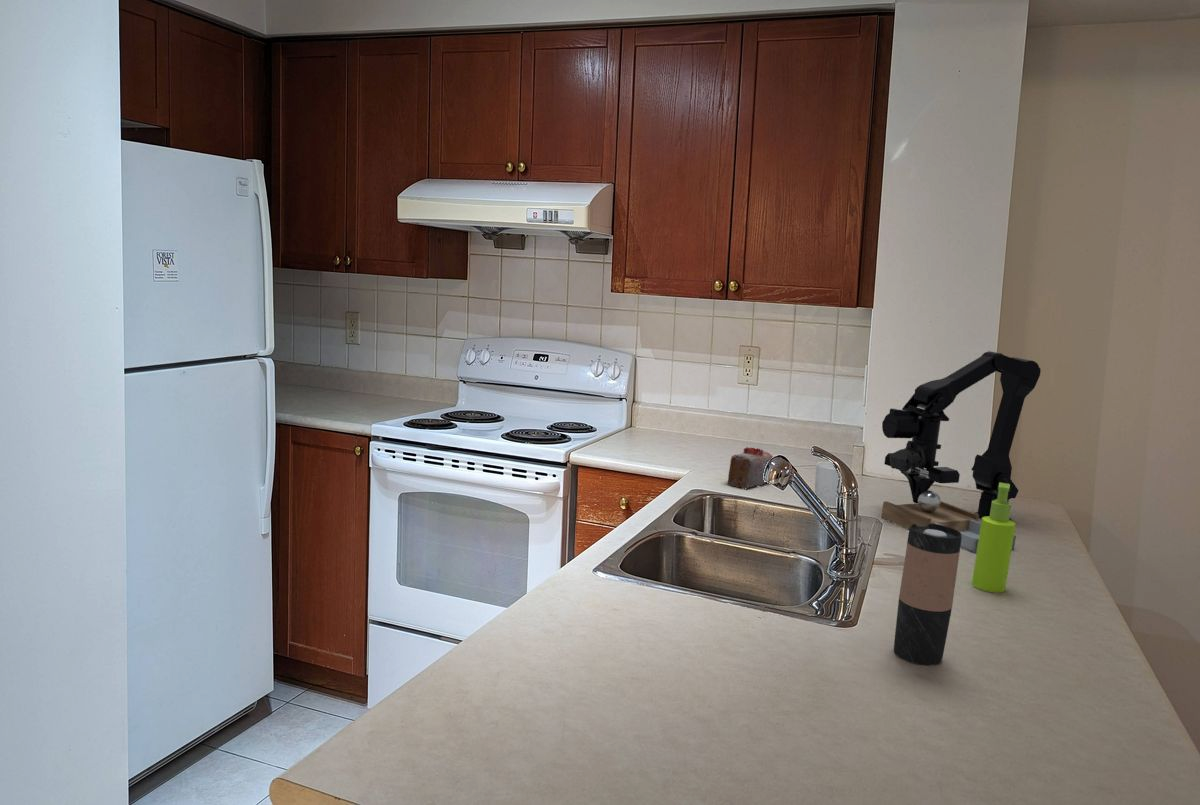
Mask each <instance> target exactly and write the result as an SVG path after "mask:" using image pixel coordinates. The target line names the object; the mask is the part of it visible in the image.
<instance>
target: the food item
mask: <svg viewBox="0 0 1200 805" xmlns="http://www.w3.org/2000/svg"><path fill="white" fill-rule="evenodd" d="M772 457H773V455H772V454H771V453H770V452H768V451H766V450H764V449H761V448H755V447H748V446H747V447H746V448H743V452H742V453H738V454H734V455H732V456H731V458H730V464H729V470H728V475H727V476H728V477H727V478H728V479H727V485H729V486H731V485H732V486H731V487H734V486H736V487H735V488H738V487H741V488H740V489H742V488H748V489H750V488H749V487H751V488H753V487H756V486H760V485H762V486H763V485H764V484H766V483H767V482H764V480H763V473H764V469H765V466H766V464H767V462H768V461H769V460H770V459H771V458H772Z"/></svg>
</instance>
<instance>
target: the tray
mask: <svg viewBox="0 0 1200 805" xmlns="http://www.w3.org/2000/svg"><path fill="white" fill-rule="evenodd" d="M934 524H939V523H934ZM939 525H941V524H939ZM943 526H944V525H943ZM980 527H981V522H980V521H978V522H977V521H974V520H970V523H969V530H968V531H961V532H960V533H961V534H962V539H961V546H960V549H963V550H965V551H969V552H971V553H973V554H976V553H977V547H978V540H979V534H980ZM1016 537H1017V536H1016V535H1015V534H1014V537H1013V544H1012V550H1015V544H1016Z"/></svg>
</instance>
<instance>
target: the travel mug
mask: <svg viewBox="0 0 1200 805" xmlns="http://www.w3.org/2000/svg"><path fill="white" fill-rule="evenodd" d="M961 539H962V534H961V533H960V532H959V531H957V530H955V529H953V528H950V527H947V526H943V525H939V524H928V525H927V526H917V525H916V524H915V523H914V524H911V525H910V528H909V529H908V536H907V541H906V549H905V555H904V563H903V567H902V568H903V570H902V576H901V582H900V587H899V589H900V590H899V595H898V601H897V602H898V604H897V611H896V612H897V613H896V620H895V623H896V624H895V632H894V644H893V653H894V654H895V656H897V657H898V658H900V659H902V660H903V661H906V662H909V663H912V664H915V665H919V666H920V665H921V666H936V665H939V664H941V663H942V661H943V658H944V652H945V646H946V642H947V636H948V630H949V626H950V625H949V624H950V621H951V620H950V619H951V616H952V615H951V614H952V608H953V603H954V597H955V596H954V595H955V588H956V580H957V573H958V565H959V559H960V552H961V551H960V550H961V547H960V546H961Z"/></svg>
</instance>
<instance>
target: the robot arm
mask: <svg viewBox="0 0 1200 805" xmlns="http://www.w3.org/2000/svg"><path fill="white" fill-rule="evenodd" d="M995 372H997V373H1000V378H999V380H1000V386H1001V389H1002V396H1001V399H1000V403H999V407H998V410H997V413H996V418H995V421H994V423H993V428H992V431H991V435H990V439H989V442H988V447H987V449H986V450H985V451H984V453H982V454H981V455H980V454H976V455H975V456H974V457H975V458H974V463H973V466H972V467H971V471H972V478H973V480H974V482H975V488H976V490H979V491H981V492H980V498H979V501H978V507H977V511H975V512H973V513H975V514H978V515H979V518H980V519H982V517H986V516H990V510H991V503H992V501H994V500H996V499H997V497H998V487H999V482H1001V483H1007V484H1010V488H1009V491H1008V497H1007V501H1008V502H1009V501H1010V500H1011V499H1016V497H1017V495H1018V493H1019V489H1018V488H1017V486H1016V484H1015V483H1014V482H1013V480H1012V477H1011V476H1012V471H1013V470H1012V469H1013V467H1012V466H1013V465H1012V463H1011V459H1010V453H1011V448H1012V445H1013V441H1014V438H1015V434H1016V431H1017V428H1018V423H1019V421H1020V416H1021V413H1022V409H1023V405H1024V403H1025V399H1026V398H1027V396H1028V395H1029V394H1030V393H1031V392H1033V390H1034V389H1035V388H1036V385H1037V383H1038V381H1039V378H1040V376H1041V372H1042V371H1041V367H1040V365H1039V364H1038V363H1037V362H1036V361H1034V360H1030V359H1026V358H1022V357H1021V358H1020V357H1014V356H1012V357H1010V356H1007V355H1005V354H1003V353H1001V352H996V351H991V350H990V351H986V352H984V353H982V355H981V356H979V357H978V358H975V359H974V360H973V361H970V362H969V363H967V364H966V365H964V366H962V367H961V368H959V369H957V370H956V371H954V372H952V373H951V374H949V375H947V376H946V377H943V378H941V379H940V378H939V379H933V380H931V381H927V382H925V383H921V384H920V385H918V386H917V387H916V388H915V389H914V393H913V394H912V395H911V397H910V398H909V399H908V401H907V402H906V403H905V404H904V405H903V407H902V409H897V408H889V413H888V414H886V415H885V417H884V418H883V420H882V423H881V424H882V426H881V427H882V428H881V429H882V432H883V435H884V436H885V437H886V438H887V439H911V440H908V441H907V442H906V445H905V448H901V449H899V450H897V451H894V452H888V453H887V454H886V455H885V457H884V463H883V465H886V466H889V467H891V469H895V470H898V471H899V472H900V473H901V474H902V475H904V476H905V478H906V479H907V481H908V484H909V488H910V492H911V497H912V502H913V504H916V503H918V497H919V495H920V494H921V493H922V492H924V491H928V490H930V488H931V487H932V486H933V484H934V483H937V484H956V483H957V484H958V483H959V482H960V472H959V471H958V469H955V468H954V469H953V468H951V467H948V466H939V465H940V464H939V463H940V462H939V461H936V457H937V451H938V450H941V448H942V444H939V434H940V429H941V422H950V417H948V416H947V415H946V413H945V412H944V410H946V409H947V408H948V407H949V406H951V405H952V404H953V403H954V401H955V399H956V398H957V396H958V395H959V394H960V393H962V392H964V391H965V390H967V389H968V388H971V387H972V386H973V385H975V384H977V383H978V382H980V381H982V380H983V379H985V378H987V377H988V376H990V375H991V374H993V373H995ZM1009 503H1010V502H1009ZM1009 520H1011V521H1012V518H1011V517H1009Z"/></svg>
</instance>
